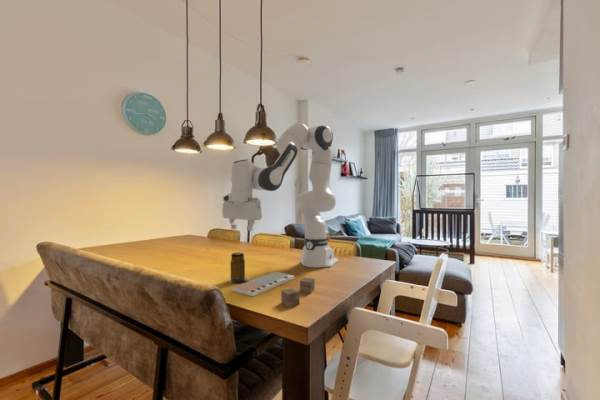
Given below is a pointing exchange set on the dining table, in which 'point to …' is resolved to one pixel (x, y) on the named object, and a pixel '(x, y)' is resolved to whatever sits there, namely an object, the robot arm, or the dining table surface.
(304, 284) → the walnut block
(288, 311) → the dining table surface
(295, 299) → the walnut block
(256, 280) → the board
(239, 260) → the condiment
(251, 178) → the robot arm
